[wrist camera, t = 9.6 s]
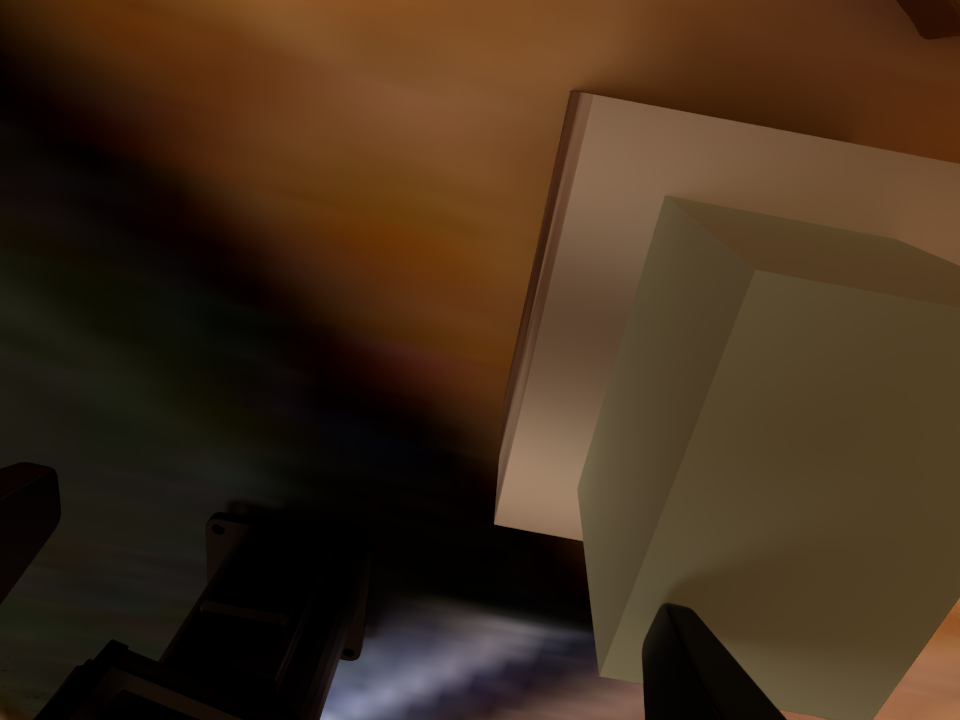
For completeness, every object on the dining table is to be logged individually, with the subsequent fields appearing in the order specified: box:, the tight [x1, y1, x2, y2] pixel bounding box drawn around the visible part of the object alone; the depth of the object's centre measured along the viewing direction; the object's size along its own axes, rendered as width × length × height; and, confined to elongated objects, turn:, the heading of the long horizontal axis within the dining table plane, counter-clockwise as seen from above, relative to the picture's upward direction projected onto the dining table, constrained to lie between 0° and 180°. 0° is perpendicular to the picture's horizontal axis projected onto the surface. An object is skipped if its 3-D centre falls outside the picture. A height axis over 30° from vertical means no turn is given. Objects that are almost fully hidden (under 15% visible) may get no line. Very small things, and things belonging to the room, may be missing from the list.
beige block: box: [494, 91, 960, 541], centre depth 16 cm, size 10×8×6 cm
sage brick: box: [577, 195, 960, 720], centre depth 11 cm, size 7×4×5 cm, turn 170°
